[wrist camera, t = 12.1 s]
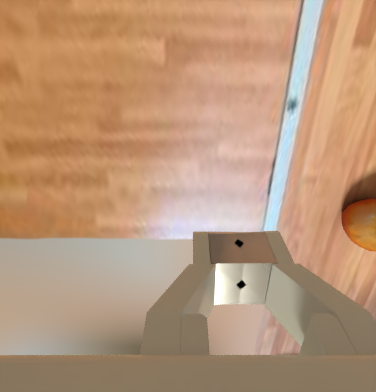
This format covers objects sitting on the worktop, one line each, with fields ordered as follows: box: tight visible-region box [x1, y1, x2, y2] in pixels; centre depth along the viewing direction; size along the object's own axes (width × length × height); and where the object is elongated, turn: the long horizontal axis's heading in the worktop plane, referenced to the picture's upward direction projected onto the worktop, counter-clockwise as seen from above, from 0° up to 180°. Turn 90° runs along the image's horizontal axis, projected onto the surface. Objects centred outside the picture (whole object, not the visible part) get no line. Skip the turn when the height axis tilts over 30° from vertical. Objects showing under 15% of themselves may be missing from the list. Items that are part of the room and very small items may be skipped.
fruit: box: [342, 198, 376, 251], centre depth 41 cm, size 8×8×8 cm
